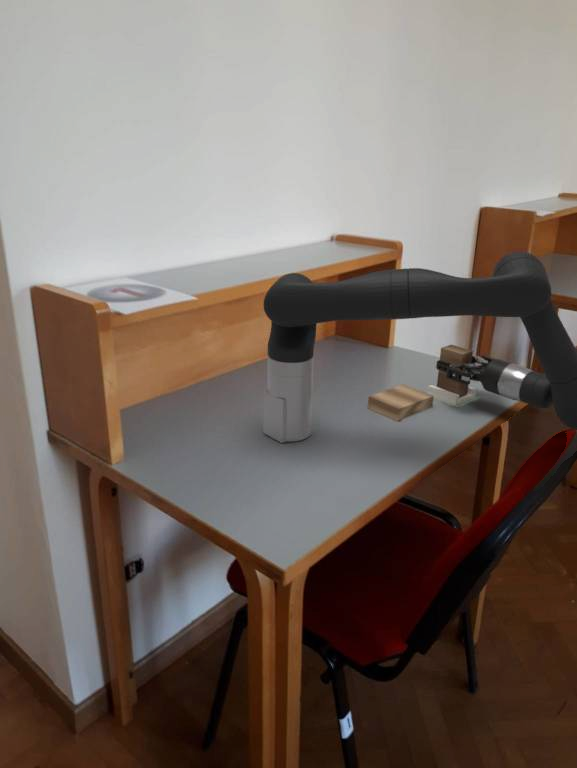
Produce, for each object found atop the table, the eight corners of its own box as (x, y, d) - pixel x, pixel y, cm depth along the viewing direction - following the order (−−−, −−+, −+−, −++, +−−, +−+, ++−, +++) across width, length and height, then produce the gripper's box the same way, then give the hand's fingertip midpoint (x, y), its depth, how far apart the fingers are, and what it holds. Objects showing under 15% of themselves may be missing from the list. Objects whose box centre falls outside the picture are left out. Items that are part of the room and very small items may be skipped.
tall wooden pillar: (457, 398, 149) (462, 354, 145) (436, 391, 154) (441, 347, 149) (467, 394, 152) (472, 350, 148) (446, 387, 156) (451, 344, 152)
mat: (457, 409, 147) (457, 407, 147) (422, 395, 154) (422, 394, 154) (479, 399, 152) (480, 397, 152) (445, 387, 159) (445, 385, 159)
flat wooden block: (397, 421, 140) (398, 409, 139) (367, 408, 146) (368, 396, 145) (432, 407, 147) (433, 395, 146) (402, 395, 154) (403, 384, 152)
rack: (454, 405, 148) (456, 396, 147) (427, 394, 153) (428, 386, 152) (475, 397, 153) (476, 388, 152) (447, 387, 158) (448, 378, 157)
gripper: (529, 357, 143) (468, 339, 154) (493, 371, 134) (431, 351, 145) (524, 388, 145) (464, 368, 157) (488, 404, 137) (428, 382, 148)
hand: (448, 360), depth 151 cm, fingers open, 8 cm apart
